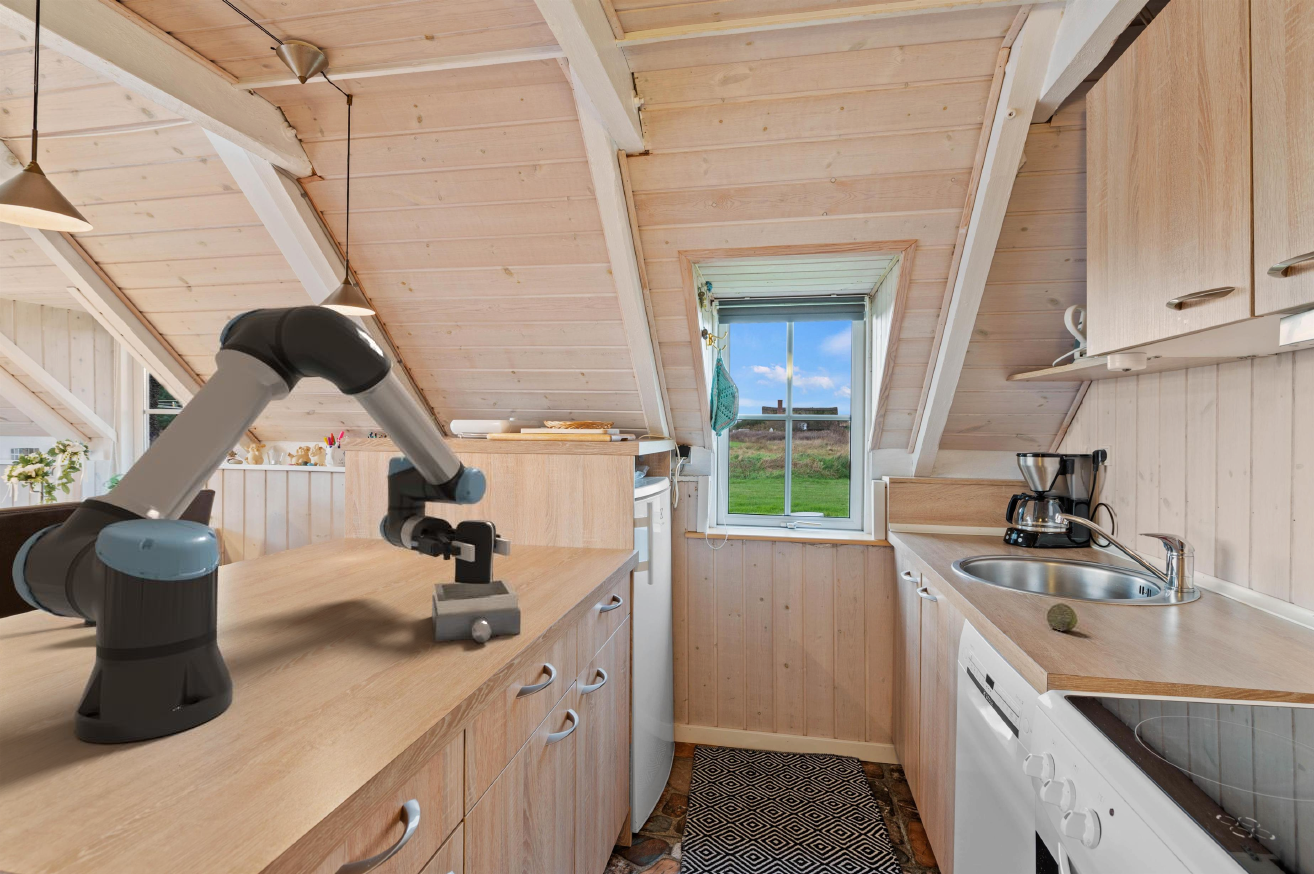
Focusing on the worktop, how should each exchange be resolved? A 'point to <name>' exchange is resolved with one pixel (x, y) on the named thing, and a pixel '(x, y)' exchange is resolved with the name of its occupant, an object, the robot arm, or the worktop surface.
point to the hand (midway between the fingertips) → (490, 550)
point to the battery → (476, 551)
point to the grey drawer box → (474, 610)
